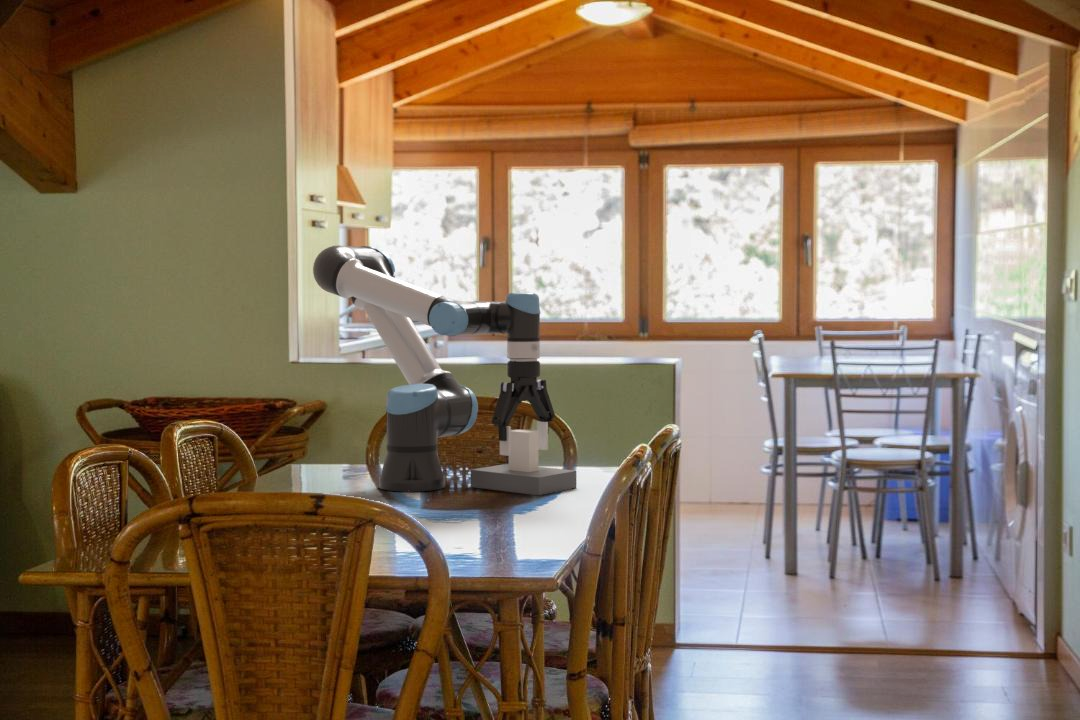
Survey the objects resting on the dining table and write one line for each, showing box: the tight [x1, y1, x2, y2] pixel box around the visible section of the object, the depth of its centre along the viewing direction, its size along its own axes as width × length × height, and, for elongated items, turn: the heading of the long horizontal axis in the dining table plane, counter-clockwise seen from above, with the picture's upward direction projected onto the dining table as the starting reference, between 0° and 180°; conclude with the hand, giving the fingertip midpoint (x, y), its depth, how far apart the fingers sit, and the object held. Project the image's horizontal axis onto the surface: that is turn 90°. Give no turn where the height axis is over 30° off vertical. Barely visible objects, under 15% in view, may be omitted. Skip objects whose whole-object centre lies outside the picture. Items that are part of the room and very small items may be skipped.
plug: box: [509, 429, 539, 472], centre depth 299 cm, size 6×4×13 cm, turn 52°
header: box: [470, 463, 577, 496], centre depth 299 cm, size 20×14×4 cm
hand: (524, 452), depth 299 cm, fingers open, 13 cm apart
